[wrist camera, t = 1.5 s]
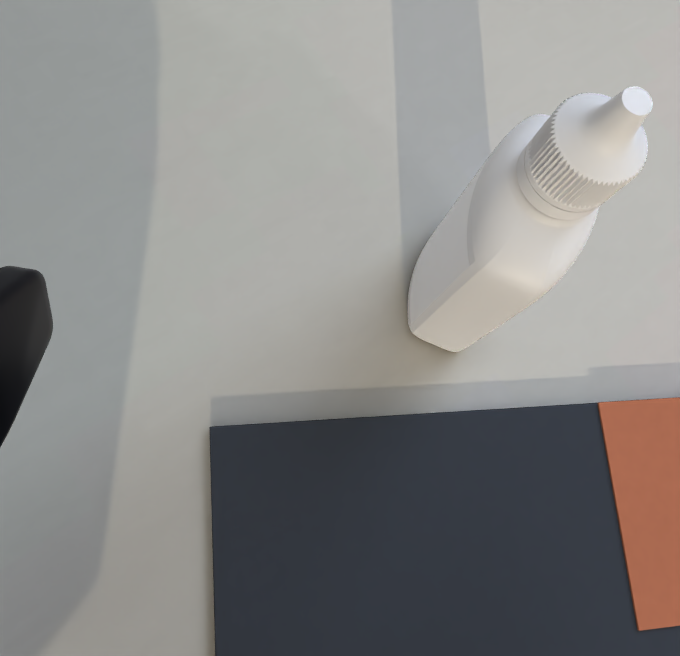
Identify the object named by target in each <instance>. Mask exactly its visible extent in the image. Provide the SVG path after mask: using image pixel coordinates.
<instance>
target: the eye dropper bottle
mask: <svg viewBox="0 0 680 656" xmlns="http://www.w3.org/2000/svg"><path fill="white" fill-rule="evenodd" d="M652 107H653V102H652V98H651V96H650V95H649V93H648V92H647V91H645V90H644V89H642V88H640V87H636V86H631V87H628V88H626V89H625V90H623V91H622V92H620V93H619V94H617V95H616V96H614V97H613V98H612V97H609V96H606V95H603V94H598V93H581V94H577V95H576V96H572V97H571V98H568V99H567V100H564V101H563V103H561V104H560V105H559V106H558V107H557V108H556V110H555V111H554V112H553V113H552V115H545V114H536V115H533V116H530V117H528V118H526V119H524V120H523V121H522V122H520V123H519V124H518V125H517V126H515V127H514V128H513V129H512V130H511V131H510V132H509V133H508V134H507V135H506V136H505V137H504V138H503V140H502V141H501V142H500V143H499V144H498V146H497V147H496V148H495V149H494V151H493V152H492V153H491V155H490V156H489V157H488V159H487V160H486V161H485V163H484V164H483V165H482V167H481V168H480V169H479V171H478V172H477V174H476V175H475V176H474V178H473V179H472V180H471V182H470V183H469V185H468V186H467V187H466V189H465V190H464V191H463V193H462V194H461V195H460V197H459V198H458V200H457V201H456V202H455V204H454V205H453V206H452V208H451V209H450V211H449V212H448V213H447V215H446V216H445V217H444V219H443V220H442V222H441V223H440V224H439V226H438V227H437V228H436V230H435V231H434V233H433V234H432V235H431V237H430V238H429V240H428V241H427V243H426V245H425V246H424V248H423V250H422V252H421V254H420V256H419V258H418V260H417V262H416V265H415V268H414V270H413V274H412V277H411V282H410V287H409V293H408V323H409V327H410V329H411V332H412V333H413V334H414V335H415V336H417V337H418V338H420V339H422V340H424V341H426V342H429V343H431V344H433V345H436V346H438V347H440V348H443V349H446V350H448V351H453V352H459V351H461V350H463V349H465V348H467V347H468V346H470V345H471V344H473V343H475V342H476V341H478V340H479V339H481V338H482V337H484V336H485V335H487V334H488V333H490V332H491V331H493V330H494V329H496V328H497V327H499V326H500V325H502V324H503V323H505V322H506V321H508V320H509V319H511V318H512V317H514V316H515V315H517V314H518V313H520V312H521V311H523V310H524V309H526V308H527V307H529V306H530V305H531V304H533V303H534V302H536V301H537V300H538V299H540V298H541V297H542V296H543V295H545V294H546V293H547V292H548V291H549V290H550V289H551V288H552V287H553V286H554V285H555V284H556V283H557V282H558V281H559V280H560V279H561V278H562V277H563V276H564V275H565V273H566V272H567V271H568V270H569V269H570V267H571V266H572V265H573V263H574V262H575V261H576V259H577V258H578V256H579V254H580V253H581V251H582V249H583V248H584V246H585V244H586V242H587V240H588V238H589V236H590V234H591V231H592V229H593V227H594V224H595V221H596V218H597V214H598V210H599V206H600V205H602V204H603V203H604V202H605V201H607V200H608V199H609V198H610V197H611V196H613V195H614V194H615V193H616V192H618V191H619V190H620V189H621V188H623V187H624V186H625V185H626V184H628V183H629V182H630V181H631V180H633V179H634V178H635V177H636V176H637V175H638V174H639V172H640V171H641V170H642V168H643V167H644V164H645V163H646V159H647V154H648V151H647V150H648V143H647V137H646V134H645V131H644V128H643V126H642V123H643V122H644V120H645V119H646V117H647V116H648V114H649V113H650V111H651V109H652Z"/></svg>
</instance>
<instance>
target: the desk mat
mask: <svg viewBox="0 0 680 656" xmlns="http://www.w3.org/2000/svg"><path fill="white" fill-rule="evenodd" d="M210 462H211V501H212V540H213V578H214V617H215V656H680V398H663V399H647V400H631V401H615V402H599V403H588V404H571V405H555V406H539V407H523V408H507V409H490V410H474V411H458V412H442V413H426V414H409V415H393V416H377V417H361V418H345V419H328V420H312V421H296V422H280V423H263V424H247V425H231V426H215V427H210Z"/></svg>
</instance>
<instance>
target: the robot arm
mask: <svg viewBox="0 0 680 656" xmlns="http://www.w3.org/2000/svg"><path fill="white" fill-rule="evenodd" d="M52 330H53V320H52V314H51V309H50V304H49V298H48V293H47V288H46V282H45V279H44V277H43V275H42V274H41V273H40V272H39V271H37V270H33V269H27V268H21V267H14V266H5V267H2V268H0V447H1V445H2V443H3V442H4V440H5V438H6V436H7V434H8V432H9V430H10V428H11V426H12V424H13V422H14V420H15V418H16V415H17V413H18V411H19V409H20V406H21V404H22V402H23V400H24V397H25V395H26V393H27V391H28V388H29V386H30V384H31V382H32V379H33V377H34V375H35V373H36V370H37V368H38V366H39V364H40V361H41V359H42V357H43V355H44V352H45V350H46V348H47V346H48V343H49V341H50V339H51V335H52Z"/></svg>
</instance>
